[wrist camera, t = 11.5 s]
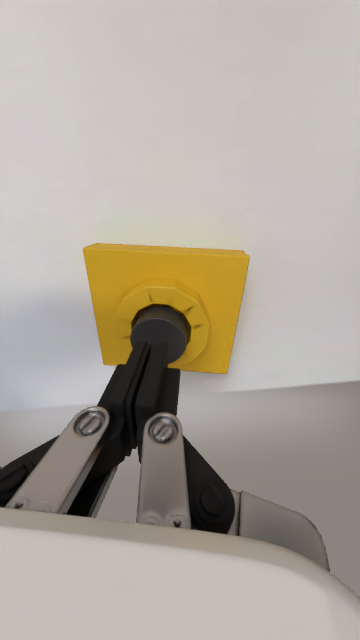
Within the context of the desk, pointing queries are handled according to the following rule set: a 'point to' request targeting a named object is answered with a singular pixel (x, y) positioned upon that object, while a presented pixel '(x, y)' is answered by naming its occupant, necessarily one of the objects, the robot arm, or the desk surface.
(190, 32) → the desk surface
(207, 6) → the desk surface
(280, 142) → the desk surface
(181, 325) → the cylinder
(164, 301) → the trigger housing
